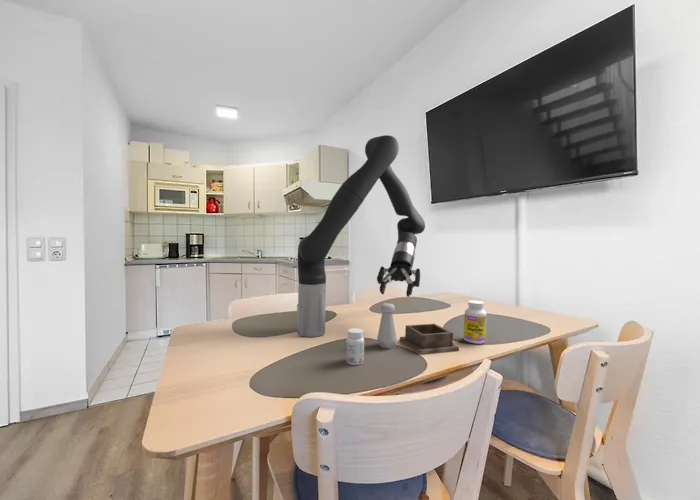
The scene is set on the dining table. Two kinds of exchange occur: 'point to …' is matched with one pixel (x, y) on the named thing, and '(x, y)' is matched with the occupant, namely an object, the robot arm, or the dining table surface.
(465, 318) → the supplement bottle
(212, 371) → the dining table surface
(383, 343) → the salt shaker
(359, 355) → the pill bottle
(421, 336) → the socket board
